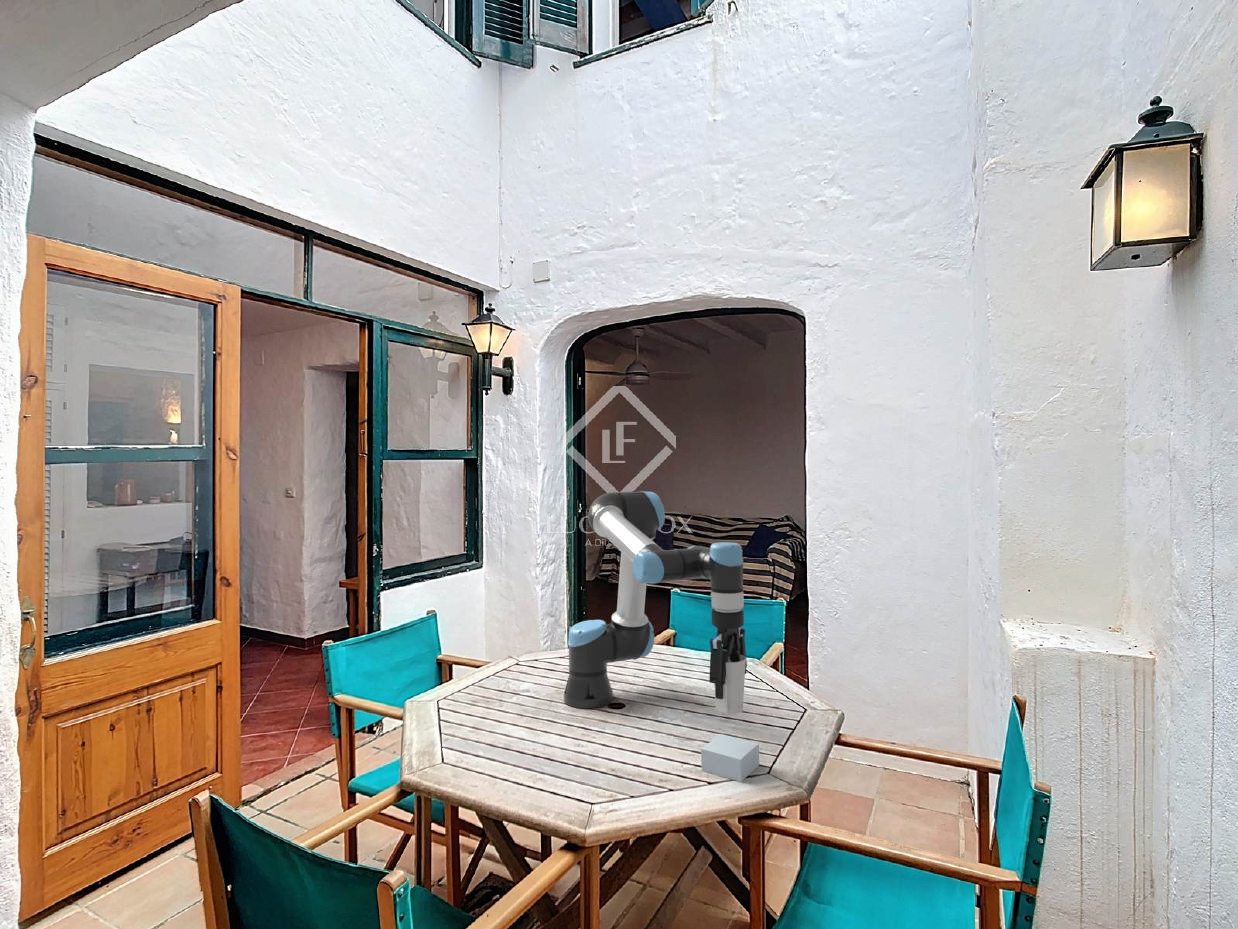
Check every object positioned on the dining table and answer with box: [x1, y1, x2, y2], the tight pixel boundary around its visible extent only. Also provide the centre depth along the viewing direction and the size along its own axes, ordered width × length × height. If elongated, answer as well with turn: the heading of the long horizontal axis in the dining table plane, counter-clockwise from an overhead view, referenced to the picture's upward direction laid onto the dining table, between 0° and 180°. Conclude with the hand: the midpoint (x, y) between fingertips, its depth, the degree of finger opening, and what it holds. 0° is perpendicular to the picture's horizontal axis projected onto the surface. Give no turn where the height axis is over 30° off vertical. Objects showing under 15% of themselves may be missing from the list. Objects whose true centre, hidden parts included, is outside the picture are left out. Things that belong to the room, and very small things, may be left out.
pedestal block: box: [700, 733, 760, 783], centre depth 150 cm, size 10×10×5 cm
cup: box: [713, 655, 747, 715], centre depth 150 cm, size 8×8×12 cm
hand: (729, 706), depth 150 cm, fingers closed on cup, 7 cm apart
